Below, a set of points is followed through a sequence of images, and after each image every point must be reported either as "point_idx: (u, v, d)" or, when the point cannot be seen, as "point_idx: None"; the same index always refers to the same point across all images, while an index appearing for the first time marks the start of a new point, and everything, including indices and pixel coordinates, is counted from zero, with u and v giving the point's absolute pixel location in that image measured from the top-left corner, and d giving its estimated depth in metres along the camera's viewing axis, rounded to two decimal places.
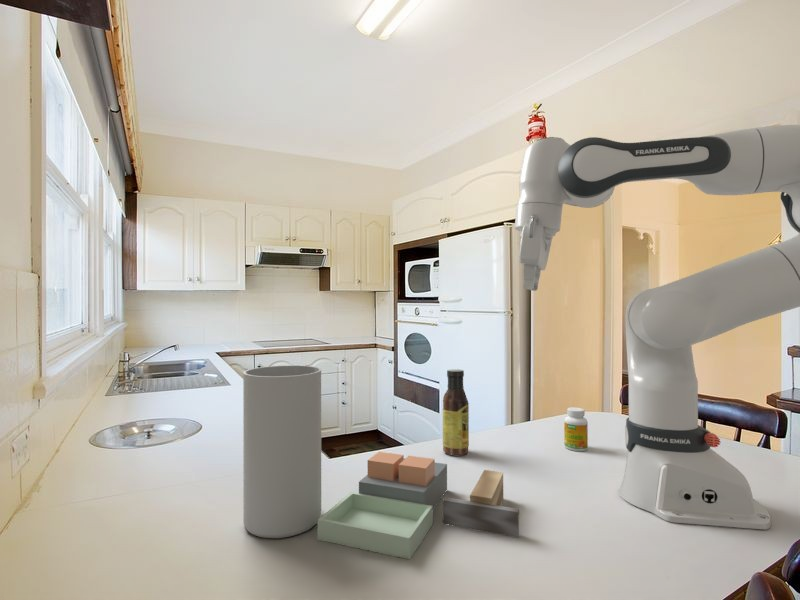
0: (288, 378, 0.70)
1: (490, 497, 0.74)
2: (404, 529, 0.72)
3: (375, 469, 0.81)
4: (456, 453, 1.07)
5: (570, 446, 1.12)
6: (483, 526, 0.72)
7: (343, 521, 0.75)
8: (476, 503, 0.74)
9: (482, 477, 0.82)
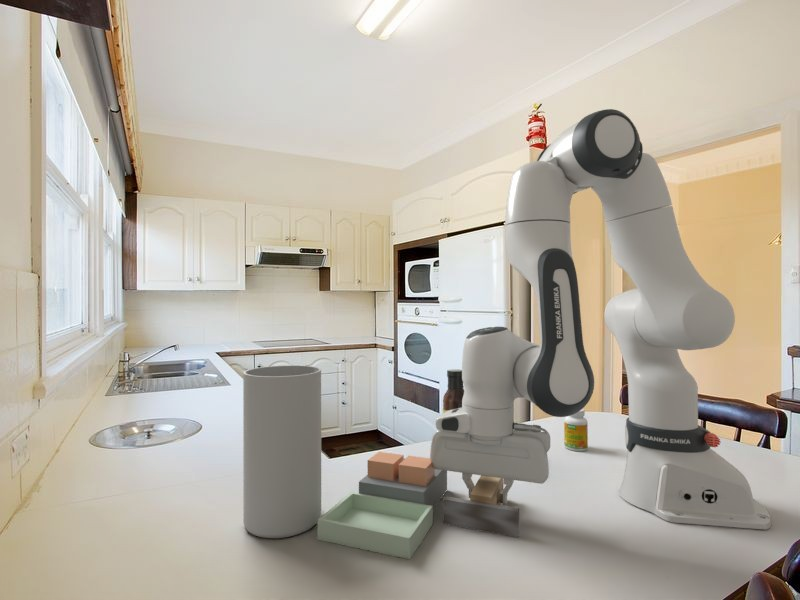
0: (288, 378, 0.70)
1: (490, 496, 0.74)
2: (404, 529, 0.72)
3: (375, 469, 0.81)
4: None
5: (570, 446, 1.12)
6: (483, 525, 0.72)
7: (343, 521, 0.75)
8: (476, 502, 0.74)
9: (482, 476, 0.82)
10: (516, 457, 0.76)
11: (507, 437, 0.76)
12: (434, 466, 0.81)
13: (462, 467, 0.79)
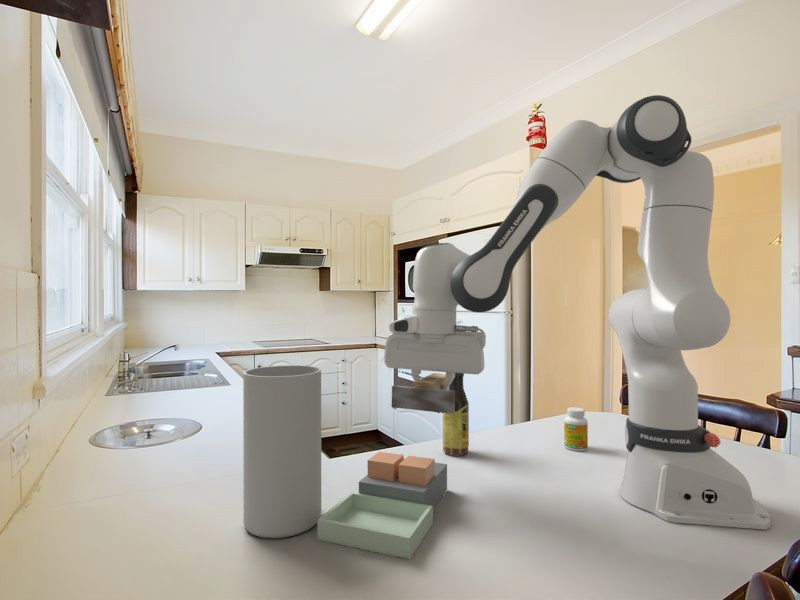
0: (288, 378, 0.70)
1: (432, 383, 0.86)
2: (404, 529, 0.72)
3: (375, 469, 0.81)
4: (456, 453, 1.07)
5: (570, 446, 1.12)
6: (425, 406, 0.85)
7: (343, 521, 0.75)
8: (420, 388, 0.86)
9: (429, 375, 0.94)
10: (456, 353, 0.88)
11: (449, 336, 0.89)
12: (387, 365, 0.93)
13: (411, 364, 0.91)
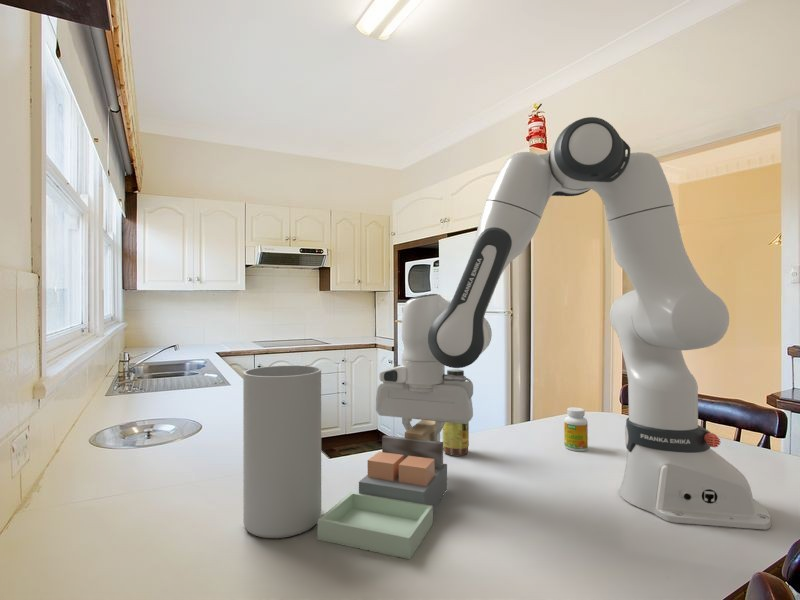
0: (288, 378, 0.70)
1: (421, 433, 0.88)
2: (404, 529, 0.72)
3: (375, 469, 0.81)
4: (456, 453, 1.07)
5: (570, 446, 1.12)
6: None
7: (343, 521, 0.75)
8: (409, 439, 0.88)
9: (420, 422, 0.96)
10: (444, 402, 0.90)
11: (437, 386, 0.91)
12: (379, 413, 0.95)
13: (401, 413, 0.94)
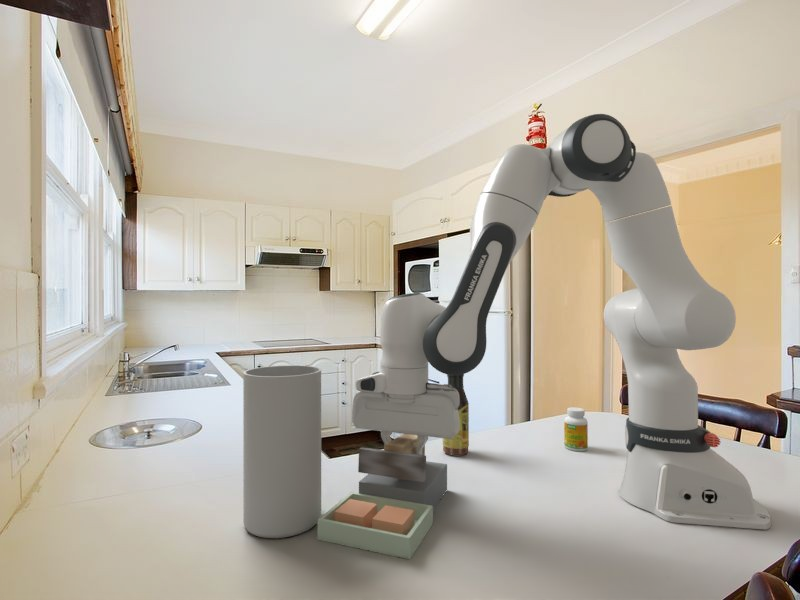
0: (288, 378, 0.70)
1: (402, 446, 0.79)
2: None
3: None
4: (456, 453, 1.07)
5: (570, 446, 1.12)
6: (393, 472, 0.77)
7: None
8: (389, 451, 0.79)
9: (403, 435, 0.87)
10: (427, 414, 0.80)
11: (420, 396, 0.81)
12: (355, 425, 0.86)
13: (380, 425, 0.84)
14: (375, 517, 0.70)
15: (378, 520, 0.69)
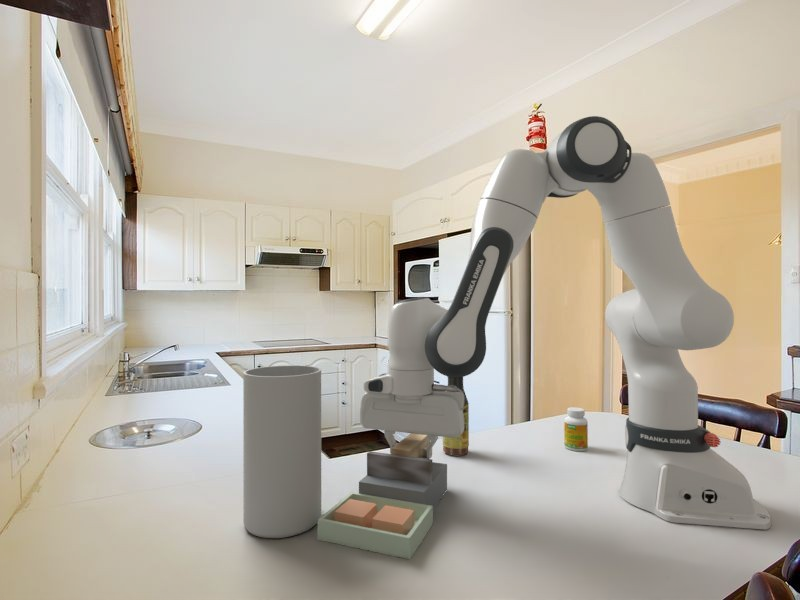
0: (288, 378, 0.70)
1: (408, 450, 0.81)
2: None
3: None
4: (456, 453, 1.07)
5: (570, 446, 1.12)
6: (401, 475, 0.80)
7: None
8: (396, 455, 0.81)
9: (409, 436, 0.89)
10: (433, 414, 0.83)
11: (426, 396, 0.84)
12: (363, 425, 0.88)
13: (387, 425, 0.87)
14: (375, 517, 0.70)
15: (378, 520, 0.69)
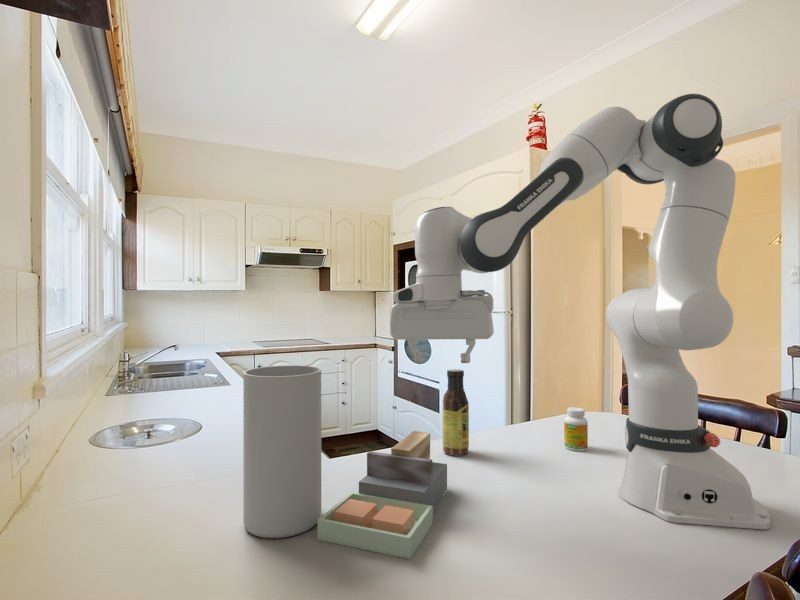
0: (288, 378, 0.70)
1: (408, 450, 0.81)
2: None
3: None
4: (456, 453, 1.07)
5: (570, 446, 1.12)
6: (401, 475, 0.80)
7: None
8: (396, 455, 0.81)
9: (409, 436, 0.89)
10: (464, 318, 0.86)
11: (455, 302, 0.86)
12: (394, 336, 0.91)
13: (418, 334, 0.89)
14: (375, 517, 0.70)
15: (378, 520, 0.69)
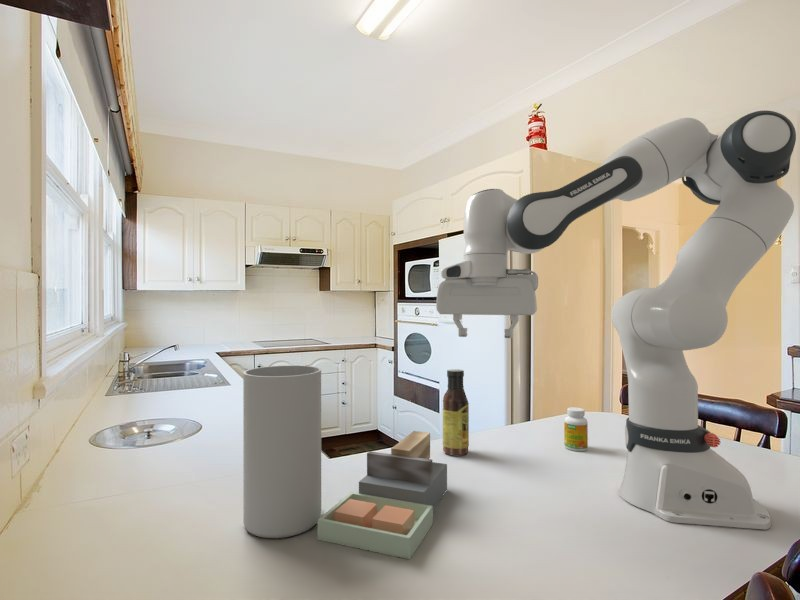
0: (288, 378, 0.70)
1: (408, 450, 0.81)
2: None
3: None
4: (456, 453, 1.07)
5: (570, 446, 1.12)
6: (401, 475, 0.80)
7: None
8: (396, 455, 0.81)
9: (409, 436, 0.89)
10: (509, 295, 0.90)
11: (502, 279, 0.91)
12: (440, 311, 0.95)
13: (464, 309, 0.93)
14: (375, 517, 0.70)
15: (378, 520, 0.69)
